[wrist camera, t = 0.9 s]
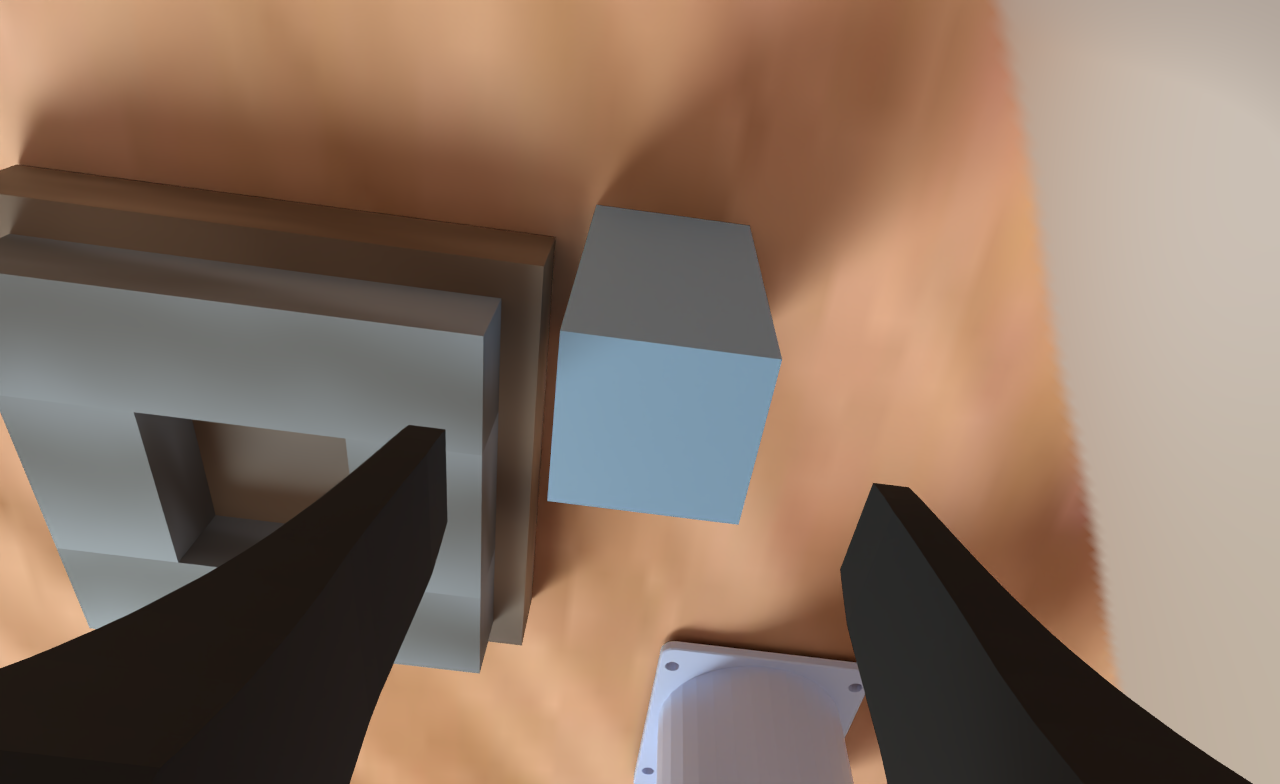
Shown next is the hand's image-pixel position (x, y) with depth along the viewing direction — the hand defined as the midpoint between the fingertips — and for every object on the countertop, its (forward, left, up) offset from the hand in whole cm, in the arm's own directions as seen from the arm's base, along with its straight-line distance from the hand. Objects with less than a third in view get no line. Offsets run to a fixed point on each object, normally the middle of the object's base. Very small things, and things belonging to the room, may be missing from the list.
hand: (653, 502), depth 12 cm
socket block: (-6, +10, -9) cm, 15 cm away
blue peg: (0, 0, -9) cm, 9 cm away
